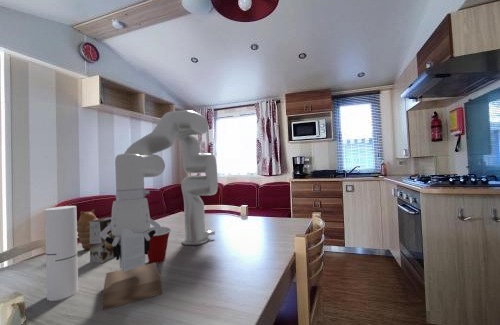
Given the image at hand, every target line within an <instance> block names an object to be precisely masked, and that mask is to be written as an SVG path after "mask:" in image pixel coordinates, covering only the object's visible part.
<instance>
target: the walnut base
mask: <svg viewBox="0 0 500 325" xmlns="http://www.w3.org/2000/svg"><path fill="white" fill-rule="evenodd" d="M158 269H159V268H158V267H157V263H147V264H146V263H145V265H144V266H140V267H137V268H134V269H131V270H128V271H123V270H122V269H120V270H119V269H118V270H115V271H110V272H106V275H105V278H104V279H105V280H104V284H103V290H102V310H108V309H111V308H114V307H115V308H116V307H118V306H122V305H125V304H130V303H133V302H136V301H140V300H144V299H147V298H151V297H154V296H158V295H162V294H163V293H162V278H161V277H162V276H161V274H160V271H159V270H158Z"/></svg>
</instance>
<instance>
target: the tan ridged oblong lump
mask: <svg viewBox="0 0 500 325" xmlns="http://www.w3.org/2000/svg"><path fill="white" fill-rule="evenodd" d="M97 219H99V218H97V216H96V215H95V209H91V210H90V211H82V210H81V211H80V215H79V219H77V238H78V239H79V240H78V241H79V243H80V244H81V247H82V249H83V250H90V221H93V220H97Z"/></svg>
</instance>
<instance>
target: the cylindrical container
mask: <svg viewBox="0 0 500 325" xmlns="http://www.w3.org/2000/svg"><path fill="white" fill-rule="evenodd" d="M77 215H78V214H77V205H65V206H56V207H47V208H45V209H44V220H45V221H44V226H45V227H44V228H45V230H44V232H45V235H44V236H45V271H46V272H45V275H46V277H45V279H46V285H45V286H46V300H47V301H48V300H49V302H55V301H61V300H64V299H67V298H69V297H71V296H73V295H75V294H76V293H78V291H79V266H78V265H79V261H78V232H77V222H78V218H77V217H78V216H77Z"/></svg>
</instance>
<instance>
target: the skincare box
mask: <svg viewBox="0 0 500 325" xmlns="http://www.w3.org/2000/svg"><path fill="white" fill-rule="evenodd" d="M118 260H119V268H120V270H123V271H128V270H131V269H134V268H137V267H140V266H144V265H146V255H145V246H144V234H143V233H133V232H132V231H131V230H130V229H129V228H124V229H121V237H120V239H119V259H118Z"/></svg>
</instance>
